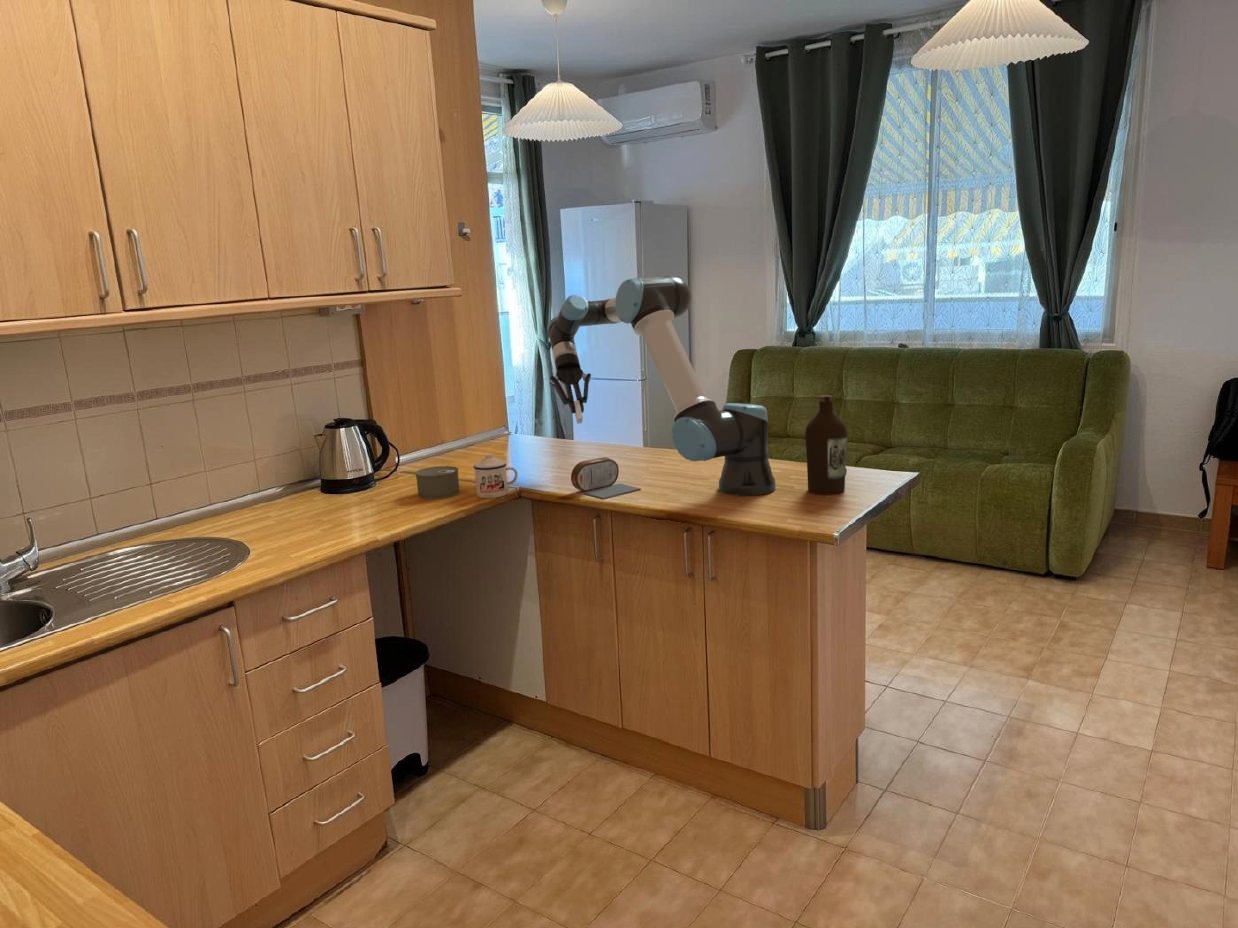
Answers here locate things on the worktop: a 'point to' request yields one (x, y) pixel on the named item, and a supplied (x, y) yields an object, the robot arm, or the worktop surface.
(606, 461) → the tin
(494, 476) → the teacup with lid
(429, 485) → the can
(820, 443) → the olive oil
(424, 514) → the worktop surface
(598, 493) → the mat
